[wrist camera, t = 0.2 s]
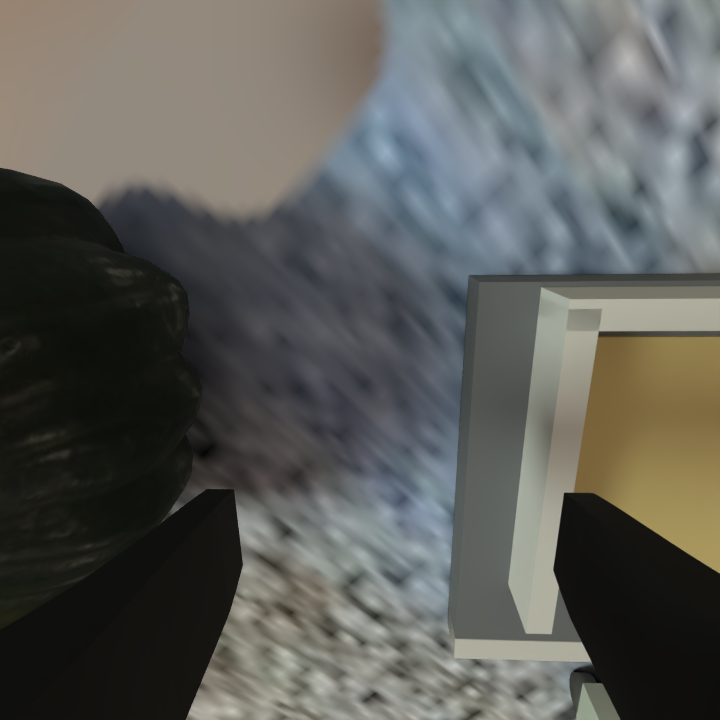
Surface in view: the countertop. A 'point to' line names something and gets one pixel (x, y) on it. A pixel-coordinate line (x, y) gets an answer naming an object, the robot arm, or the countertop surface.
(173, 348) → the squash
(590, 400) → the dock
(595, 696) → the upright pale green block
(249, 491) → the countertop surface
